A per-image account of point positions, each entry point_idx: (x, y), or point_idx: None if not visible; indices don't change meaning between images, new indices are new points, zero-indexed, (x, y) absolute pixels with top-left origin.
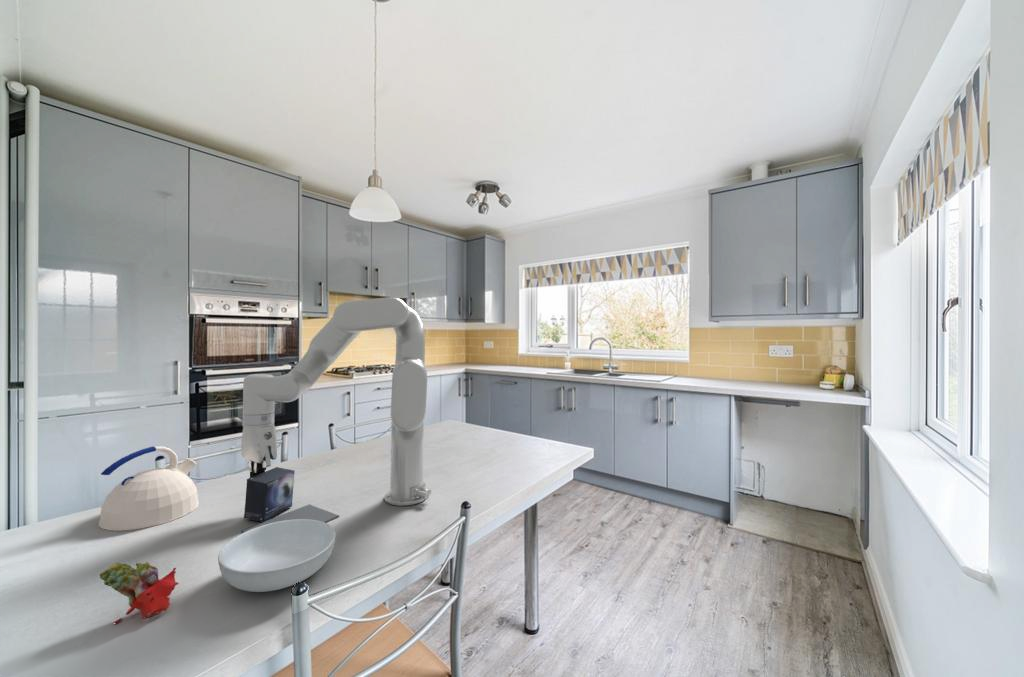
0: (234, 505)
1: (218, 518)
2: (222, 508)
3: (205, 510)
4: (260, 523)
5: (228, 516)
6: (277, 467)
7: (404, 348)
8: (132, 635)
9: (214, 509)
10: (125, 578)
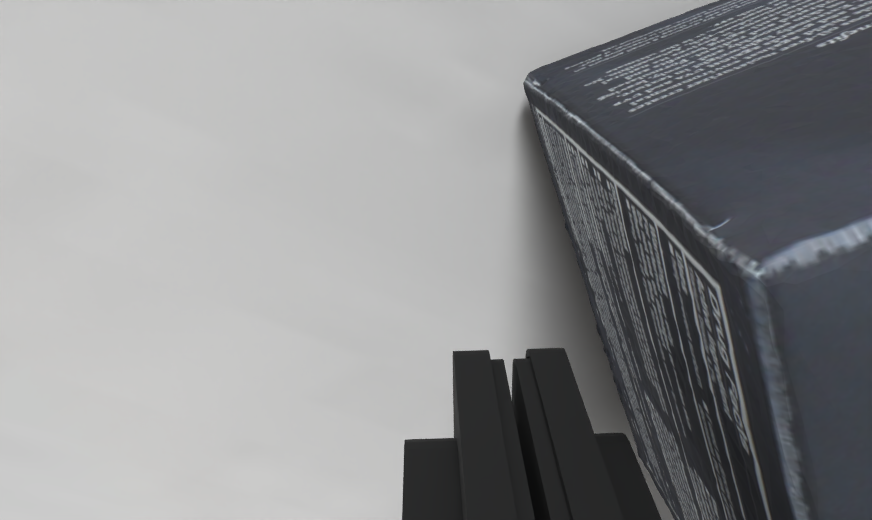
0: (146, 325)
1: (365, 514)
2: (140, 417)
3: (74, 510)
4: None
5: (394, 458)
6: (827, 292)
7: None
8: None
9: (110, 463)
10: None
